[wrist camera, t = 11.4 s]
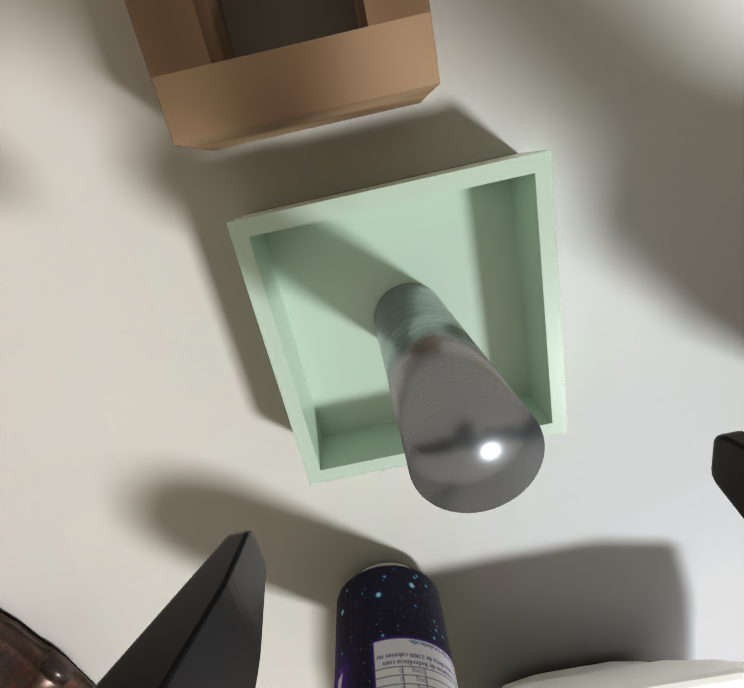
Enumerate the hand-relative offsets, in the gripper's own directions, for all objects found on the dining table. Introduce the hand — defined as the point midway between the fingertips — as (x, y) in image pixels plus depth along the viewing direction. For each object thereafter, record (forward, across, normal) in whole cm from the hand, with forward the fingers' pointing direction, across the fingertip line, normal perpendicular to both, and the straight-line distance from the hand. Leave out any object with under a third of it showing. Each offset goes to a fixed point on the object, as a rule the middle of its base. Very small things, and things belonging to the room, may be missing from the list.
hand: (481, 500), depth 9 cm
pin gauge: (+11, 0, 0) cm, 11 cm away
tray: (+12, 0, 0) cm, 12 cm away
